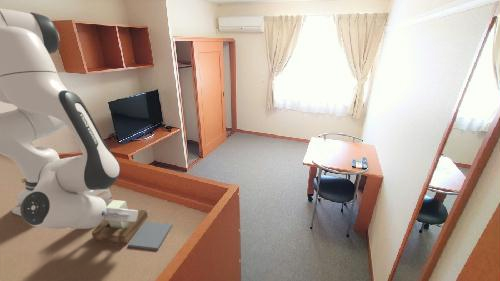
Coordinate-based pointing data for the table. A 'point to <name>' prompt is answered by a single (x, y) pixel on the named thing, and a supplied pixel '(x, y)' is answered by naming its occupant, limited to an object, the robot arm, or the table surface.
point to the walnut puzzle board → (119, 230)
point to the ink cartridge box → (101, 195)
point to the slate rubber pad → (150, 235)
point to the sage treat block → (118, 205)
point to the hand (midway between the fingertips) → (119, 214)
